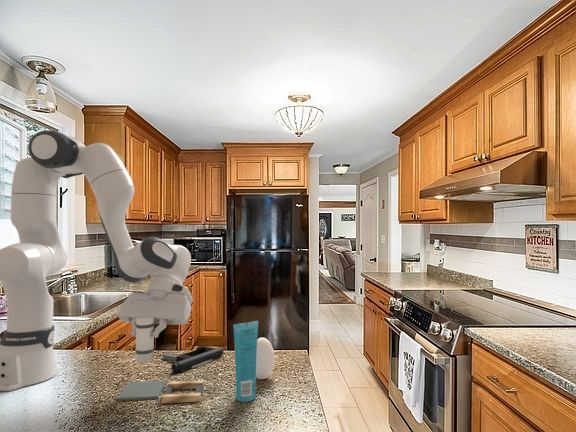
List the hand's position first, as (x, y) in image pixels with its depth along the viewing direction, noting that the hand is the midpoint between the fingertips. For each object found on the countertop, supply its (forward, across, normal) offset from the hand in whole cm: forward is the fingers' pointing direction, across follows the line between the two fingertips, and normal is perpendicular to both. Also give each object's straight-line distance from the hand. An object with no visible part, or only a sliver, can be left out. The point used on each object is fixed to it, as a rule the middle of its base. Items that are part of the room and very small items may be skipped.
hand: (143, 336), depth 98 cm
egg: (0, +29, +22) cm, 36 cm away
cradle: (+10, +11, +11) cm, 19 cm away
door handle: (-7, +1, +29) cm, 29 cm away
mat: (+10, 0, +11) cm, 15 cm away
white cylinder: (+4, 0, +5) cm, 6 cm away
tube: (+9, +28, +12) cm, 31 cm away
